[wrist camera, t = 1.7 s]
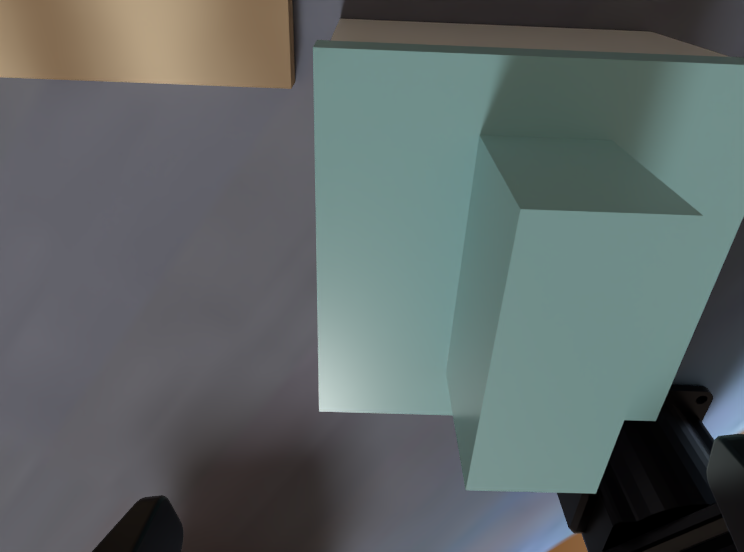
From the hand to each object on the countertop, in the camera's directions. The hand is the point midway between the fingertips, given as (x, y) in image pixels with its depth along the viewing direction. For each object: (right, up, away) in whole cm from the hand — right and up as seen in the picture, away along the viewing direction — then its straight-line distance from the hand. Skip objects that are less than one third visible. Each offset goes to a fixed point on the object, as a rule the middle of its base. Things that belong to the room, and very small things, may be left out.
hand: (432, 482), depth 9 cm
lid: (+3, +5, +7) cm, 9 cm away
